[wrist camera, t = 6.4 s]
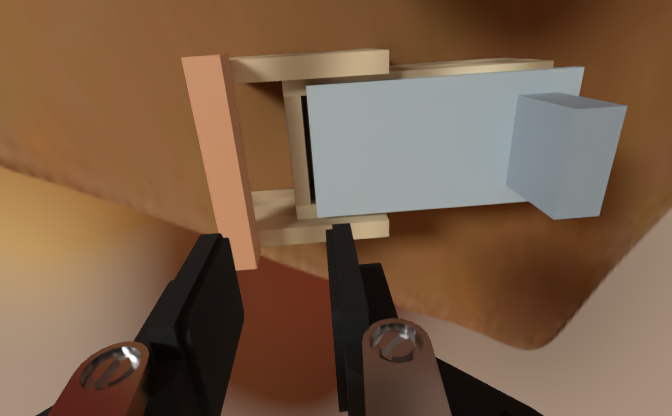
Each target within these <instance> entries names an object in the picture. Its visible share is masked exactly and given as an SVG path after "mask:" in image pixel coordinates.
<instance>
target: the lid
mask: <svg viewBox="0 0 672 416" xmlns="http://www.w3.org/2000/svg"><path fill="white" fill-rule="evenodd" d="M584 68H585V67H576V66H574V67H560V68H545V69H530V70H515V71H501V72H486V73H471V74H456V75H441V76H427V77H412V78H397V79H382V80H367V81H353V82H338V83H323V84H308V85H306V92H307V104H308V115H309V126H310V138H311V149H312V161H313V172H314V183H315V195H316V206H317V217H318V218H322V217H334V216H347V215H360V214H372V213H385V212H398V211H410V210H423V209H436V208H448V207H461V206H474V205H486V204H499V203H512V202H524V201H529V202H530V203H532V204H533V205H534V206H536V207H537V208H538V209H540V210H541V211H543V212H544V213H545V214H547V215H548V216H550V217H551V218H552V219H554V220H556V219H568V218H581V217H593V216H599V214H600V210H601V207H602V203H603V199H604V195H605V191H606V187H607V183H608V179H609V176H610V172H611V168H612V164H613V160H614V156H615V152H616V149H617V145H618V141H619V137H620V133H621V129H622V125H623V122H624V118H625V114H626V110H627V106H626V105H621V104H616V103H611V102H606V101H601V100H595V99H590V98H585V97H580V96H579V92H580V88H581V83H582V78H583V73H584Z"/></svg>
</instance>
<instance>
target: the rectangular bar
mask: <svg viewBox="0 0 672 416" xmlns="http://www.w3.org/2000/svg"><path fill="white" fill-rule="evenodd" d="M181 59H182V64H183V68H184V73H185V78H186V82H187V87H188V92H189V96H190V101H191V106H192V110H193V115H194V120H195V124H196V129H197V134H198V138H199V143H200V148H201V153H202V157H203V162H204V167H205V171H206V176H207V181H208V185H209V190H210V195H211V199H212V204H213V209H214V213H215V218H216V223H217V227H218V232H219V233H221V234H222V236H223V238H226V237H228V238H229V240H230V244H231V249H232V254H233V259H234V264H235V269H236V270H247V269H257V265H258V261H259V257H260V253H261V250H260V244H259V238H258V231H257V225H256V219H255V213H254V207H253V201H252V195H251V189H250V183H249V177H248V171H247V165H246V159H245V153H244V146H243V140H242V134H241V128H240V122H239V116H238V110H237V104H236V98H235V92H234V86H233V80H232V74H231V67H230V61H229V55H228V54H222V55H206V56H192V57H182V58H181Z"/></svg>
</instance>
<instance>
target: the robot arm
mask: <svg viewBox="0 0 672 416" xmlns="http://www.w3.org/2000/svg"><path fill="white" fill-rule="evenodd" d="M325 231H326V244H327V258H328V272H329V286H330V300H331V313H332V326H333V338H334V350H335V363H336V376H337V389H338V401H339V411H340V412H343V411H348V416H543V415H542V414H540V413H539V412H537V411H536V410H534V409H533V408H531V407H529V406H527V405H525V404H524V403H521V402H520V401H518V400H516V399H514V398H512V397H510V396H508V395H506V394H505V393H503V392H501V391H499V390H497V389H495V388H493V387H491V386H489V385H488V384H486V383H484V382H482V381H480V380H478V379H476V378H474V377H472V376H471V375H469V374H467V373H465V372H463V371H461V370H459V369H457V368H455V367H453V366H452V365H450V364H448V363H446V362H444V361H442V360H440V359H438V358H437V357H435V354H434V351H433V347H432V344H431V340H430V338H429V336H428V334H427V333H426V332H425V331H424V330H423V329H422V328H421V327H420V326H418V325H417V324H415V323H413V322H411V321H407V320H404V319H398V316H397V313H396V310H395V306H394V303H393V300H392V297H391V294H390V291H389V287H388V284H387V281H386V278H385V275H384V271H383V268H382V265H381V263H372V264H360V265H359V262H358V258H357V253H356V248H355V244H354V239H353V234H352V230H351V225H350V223H342V224H332V229H326V230H325ZM243 321H244V309H243V304H242V299H241V294H240V289H239V284H238V279H237V274H236V269H235V264H234V259H233V254H232V249H231V244H230V240H229V238H228V237H226V238H223V236H222V234H221V233H216V234H203V235H200V236H199V238H198V240H197V242H196V243H195V245H194V247H193V249H192V250H191V252H190V254H189V255H188V257H187V259H186V260H185V262H184V264H183V265H182V267H181V269H180V271H179V272H178V274H177V276H176V278H175V279H174V280H172V281H170V282H169V284H168V285H167V287H166V288H165V290H164V292H163V293H162V295H161V297H160V298H159V300H158V302H157V303H156V305H155V307H154V308H153V310H152V312H151V313H150V315H149V317H148V318H147V320H146V322H145V323H144V325H143V327H142V328H141V330H140V332H139V333H138V335H137V337H136V338H135V340H134V341H131V342H130V341H129V342H121V343H117V344H113V345H110V346H108V347H106V348H103V349H101V350H99V351H98V352H96V353H94V354H93V355H91V356H90V357H89V358H87V360H85V361H84V362H83V363H82V364H81V365H80V366H79V367H78V368H77V370H76V371H75V372H74V373H73V375H72V377H71V378H70V380H69V381H68V383H67V385H66V386H65V388H64V389H63V391H62V393H61V395H60V396H59V398H58V399H57V401H56V402H55V404H54V405H53V406H51V407H50V408H48V409H46V410H45V411H43V412H42V413H40V414H38V415H36V416H220V415H221V411H222V407H223V403H224V399H225V395H226V391H227V387H228V383H229V379H230V375H231V371H232V366H233V362H234V358H235V354H236V350H237V346H238V342H239V338H240V334H241V330H242V326H243Z"/></svg>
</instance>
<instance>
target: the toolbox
mask: <svg viewBox="0 0 672 416" xmlns="http://www.w3.org/2000/svg"><path fill="white" fill-rule="evenodd" d="M229 61H230V67H231V74H232V80H233V84H240V83H255V82H270V81H282V88H283V97H284V106H285V115H286V124H287V133H288V142H289V150H290V159H291V168H292V177H293V186H294V189H281V190H267V191H254V192H251V195H252V201H253V207H254V213H255V219H256V225H257V231H258V238H259V244H260V247H267V246H280V245H292V244H304V243H317V242H326V231H325V230H326V229H332V224H342V223H350V225H351V230H352V234H353V239H366V238H379V237H389V219H388V217H387V215H386V213H388V212H385V213H372V214H360V215H347V216H334V217H322V218H318V217H317V206H316V195H315V183H314V172H313V161H312V149H311V138H310V126H309V115H308V104H307V92H306V85H308V84H323V83H338V82H353V81H367V80H382V79H397V78H412V77H427V76H441V75H456V74H471V73H486V72H501V71H515V70H530V69H545V68H553V63H554V61H551V60H536V59H521V58H506V57H504V58H489V59H474V60H459V61H444V62H429V63H414V64H399V65H389V50H385V49H354V50H339V51H323V52H308V53H292V54H277V55H262V56H246V57H231V58H229ZM524 202H528V201H524ZM512 203H515V202H512ZM499 204H502V203H499ZM486 205H490V204H486ZM474 206H477V205H474ZM461 207H464V206H461ZM448 208H452V207H448ZM436 209H439V208H436ZM423 210H426V209H423ZM410 211H414V210H410ZM398 212H401V211H398Z"/></svg>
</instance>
